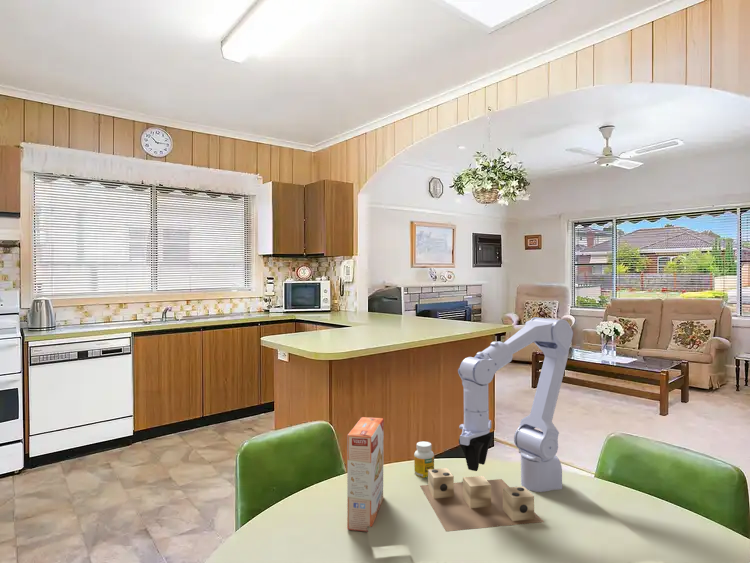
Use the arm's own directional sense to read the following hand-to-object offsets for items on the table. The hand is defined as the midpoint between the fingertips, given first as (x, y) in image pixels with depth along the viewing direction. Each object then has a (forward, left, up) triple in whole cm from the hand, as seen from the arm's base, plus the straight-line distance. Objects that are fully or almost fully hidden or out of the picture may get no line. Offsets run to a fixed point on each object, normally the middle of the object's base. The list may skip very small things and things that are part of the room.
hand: (476, 466), depth 111 cm
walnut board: (0, 0, -10) cm, 10 cm away
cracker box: (+26, -1, -10) cm, 28 cm away
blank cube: (0, 0, -8) cm, 8 cm away
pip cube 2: (-7, +7, -8) cm, 13 cm away
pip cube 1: (+7, -6, -8) cm, 12 cm away
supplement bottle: (+8, -18, -10) cm, 22 cm away
